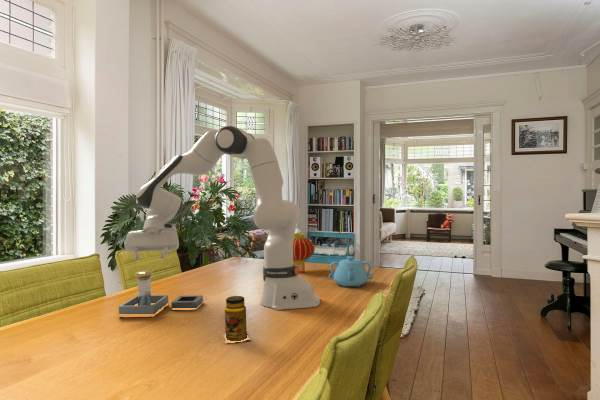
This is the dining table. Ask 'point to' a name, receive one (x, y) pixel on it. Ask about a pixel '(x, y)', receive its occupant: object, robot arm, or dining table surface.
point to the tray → (143, 309)
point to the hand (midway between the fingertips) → (149, 258)
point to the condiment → (235, 319)
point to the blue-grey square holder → (187, 301)
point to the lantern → (302, 249)
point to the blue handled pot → (350, 272)
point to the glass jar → (144, 287)
